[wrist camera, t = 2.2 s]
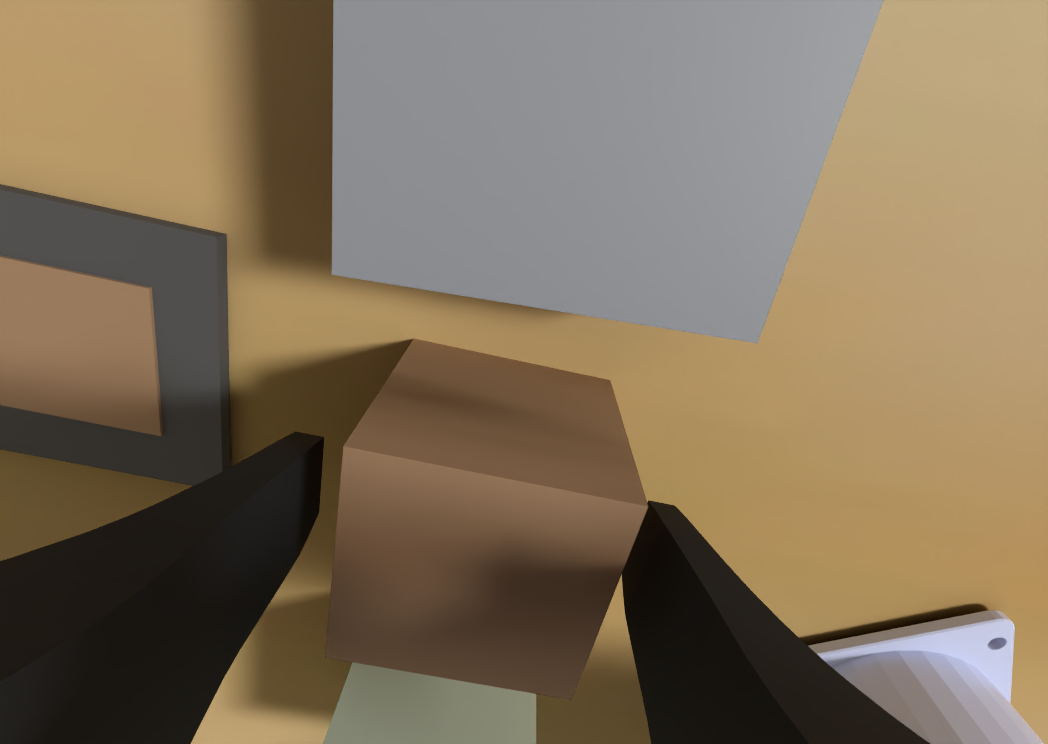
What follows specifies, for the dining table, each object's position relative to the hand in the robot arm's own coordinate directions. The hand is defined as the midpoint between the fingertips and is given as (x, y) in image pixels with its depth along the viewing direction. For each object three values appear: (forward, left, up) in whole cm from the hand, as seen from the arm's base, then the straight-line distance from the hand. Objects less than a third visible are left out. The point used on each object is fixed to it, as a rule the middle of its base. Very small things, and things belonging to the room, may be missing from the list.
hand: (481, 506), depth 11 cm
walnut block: (0, 0, -3) cm, 3 cm away
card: (+6, +9, -3) cm, 11 cm away
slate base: (+7, -4, -3) cm, 9 cm away
